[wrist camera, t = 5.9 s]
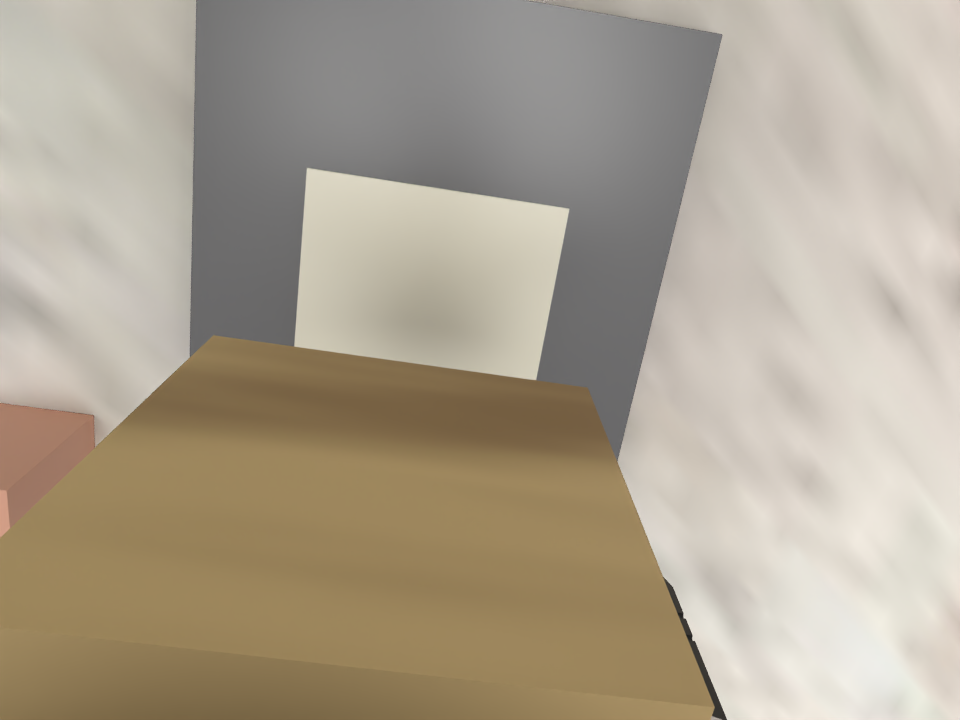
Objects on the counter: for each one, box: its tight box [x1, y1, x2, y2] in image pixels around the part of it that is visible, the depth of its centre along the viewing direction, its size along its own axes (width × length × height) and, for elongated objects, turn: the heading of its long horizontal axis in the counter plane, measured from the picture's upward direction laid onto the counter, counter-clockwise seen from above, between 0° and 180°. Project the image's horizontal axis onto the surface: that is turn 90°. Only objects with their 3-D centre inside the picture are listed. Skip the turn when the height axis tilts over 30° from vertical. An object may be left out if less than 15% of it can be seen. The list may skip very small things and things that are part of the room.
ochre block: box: [0, 335, 715, 720], centre depth 9 cm, size 6×6×6 cm
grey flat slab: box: [190, 0, 722, 460], centre depth 23 cm, size 18×14×1 cm
